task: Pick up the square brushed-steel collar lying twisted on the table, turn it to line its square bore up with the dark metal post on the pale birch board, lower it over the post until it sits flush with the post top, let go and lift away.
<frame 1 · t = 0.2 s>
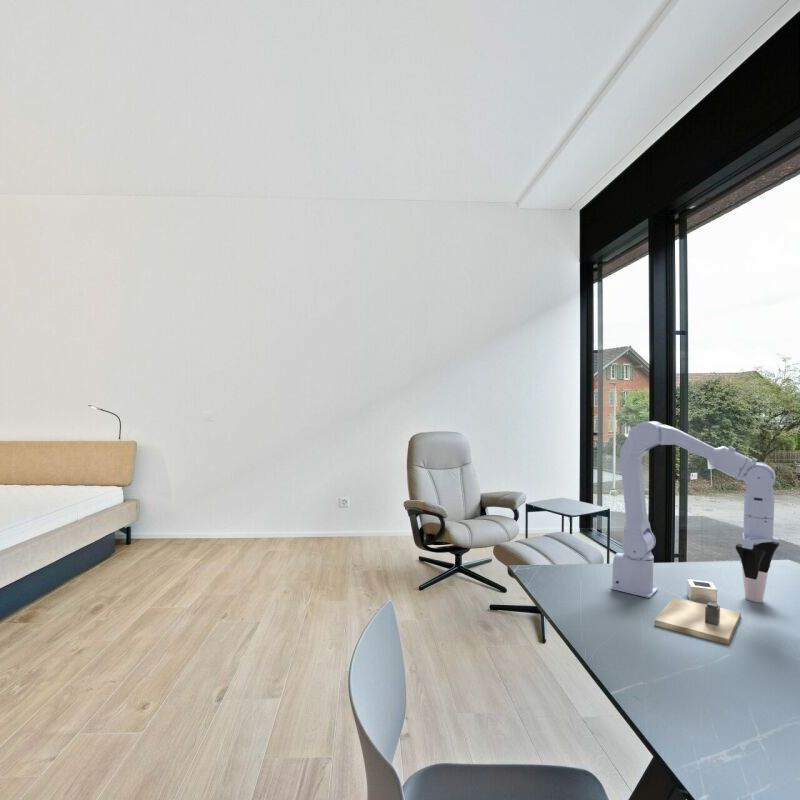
hand: (756, 574, 123), 10 cm above the table, fingers open, 7 cm apart
steel collar: (701, 600, 133), on the table
post board: (698, 621, 120), on the table
smoothie: (754, 600, 135), on the table
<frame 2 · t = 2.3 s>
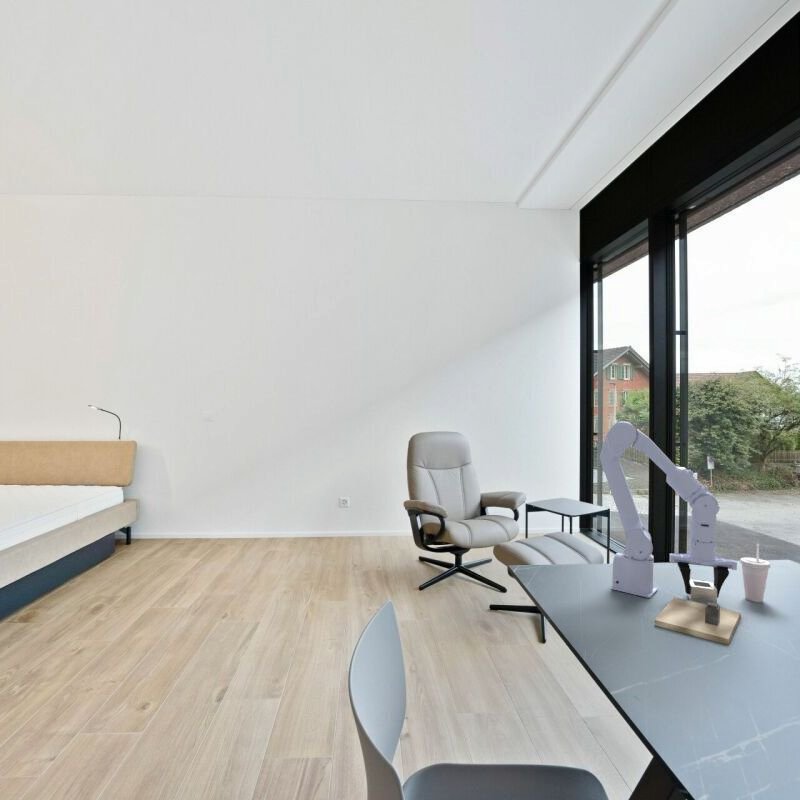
hand: (701, 594, 133), 1 cm above the table, fingers closed on steel collar, 6 cm apart
steel collar: (701, 600, 133), on the table, touching gripper
everything else where it was.
when the fingers open (4 cm above the table, at t = 7.7 s): steel collar stays where it is, resting on post board.
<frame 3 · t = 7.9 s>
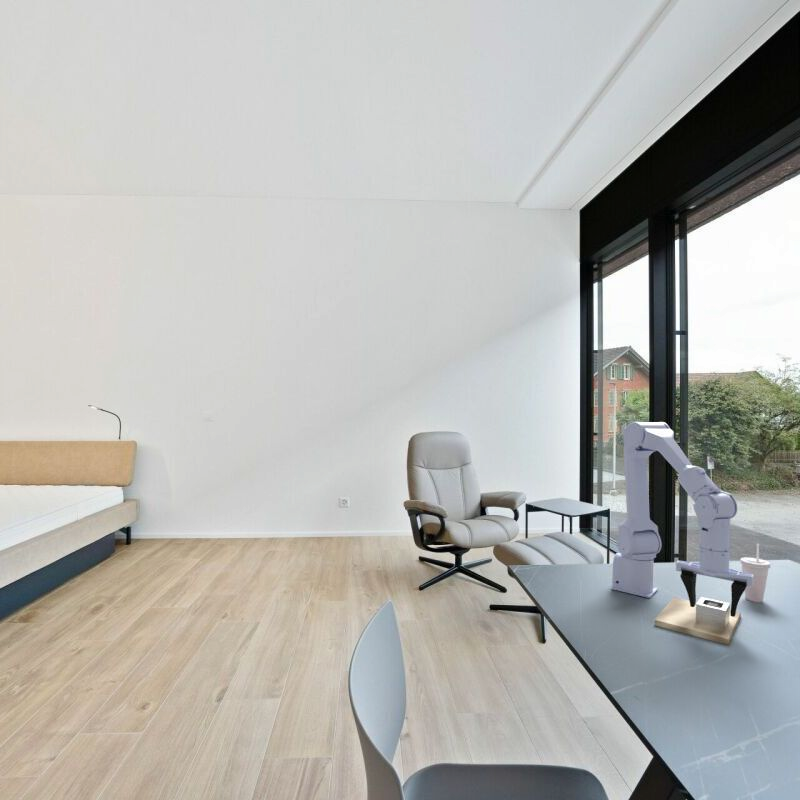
hand: (712, 610, 117), 4 cm above the table, fingers open, 7 cm apart
steel collar: (712, 621, 117), point 1 cm above the table, touching post board
everything else where it was.
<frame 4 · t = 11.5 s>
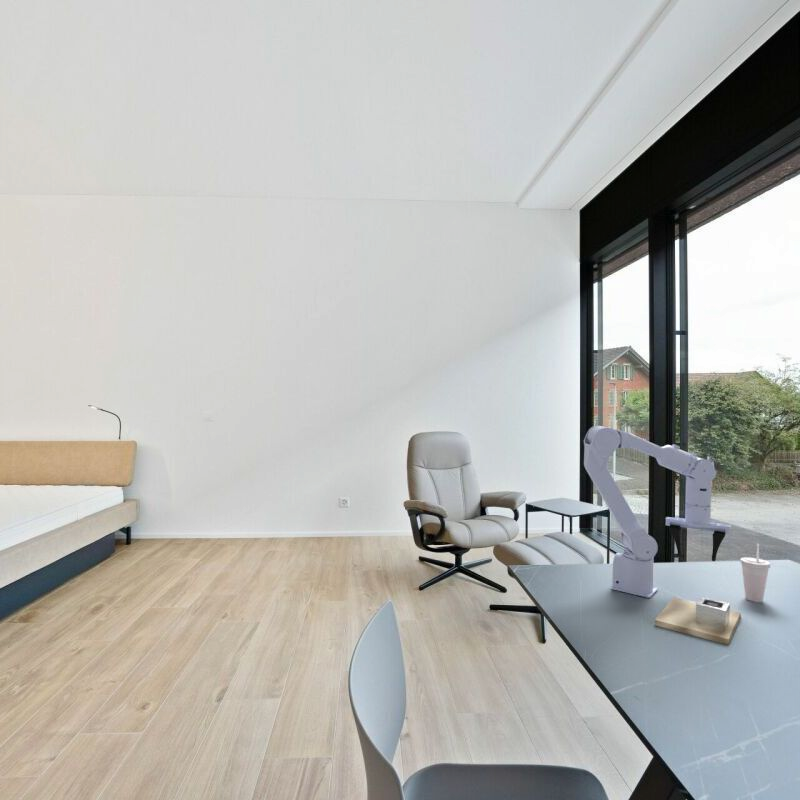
hand: (696, 557, 138), 9 cm above the table, fingers open, 7 cm apart
nothing on the table moved.
at the end: steel collar 0.5 cm from the target spot on the post board, point 1.2 cm above the post board's base; steel collar tilted 0°; the gripper is holding nothing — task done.
